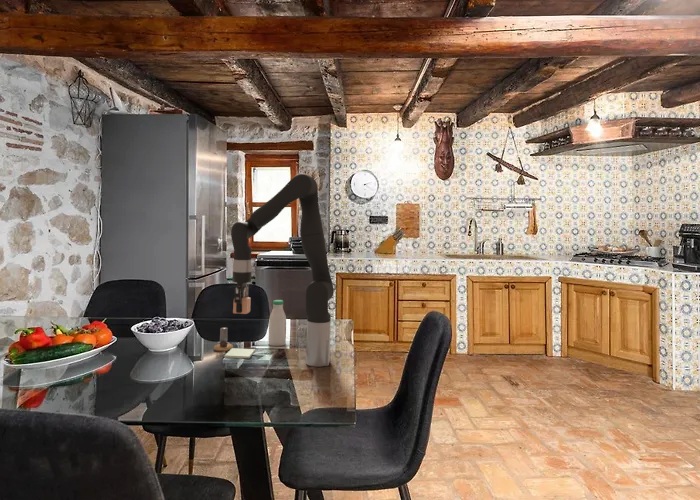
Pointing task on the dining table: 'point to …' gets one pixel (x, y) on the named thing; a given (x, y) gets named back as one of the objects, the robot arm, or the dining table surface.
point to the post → (223, 342)
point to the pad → (240, 353)
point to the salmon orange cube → (243, 305)
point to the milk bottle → (277, 324)
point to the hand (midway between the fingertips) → (241, 310)
